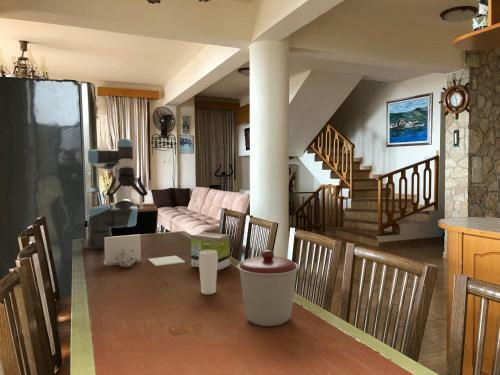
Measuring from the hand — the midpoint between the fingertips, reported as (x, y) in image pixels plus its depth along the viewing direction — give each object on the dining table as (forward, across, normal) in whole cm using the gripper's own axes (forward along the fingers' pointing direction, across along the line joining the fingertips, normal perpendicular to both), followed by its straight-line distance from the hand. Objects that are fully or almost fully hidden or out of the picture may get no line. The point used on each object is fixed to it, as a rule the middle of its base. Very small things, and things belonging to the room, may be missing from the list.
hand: (128, 209), depth 199 cm
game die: (+30, -5, -13) cm, 33 cm away
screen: (+27, -5, -4) cm, 27 cm away
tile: (+28, +14, -12) cm, 34 cm away
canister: (+53, +19, -94) cm, 109 cm away
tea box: (+33, +29, -31) cm, 54 cm away
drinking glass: (+44, +13, -63) cm, 78 cm away
